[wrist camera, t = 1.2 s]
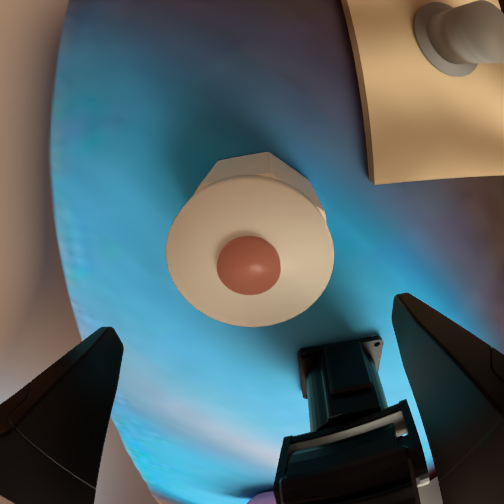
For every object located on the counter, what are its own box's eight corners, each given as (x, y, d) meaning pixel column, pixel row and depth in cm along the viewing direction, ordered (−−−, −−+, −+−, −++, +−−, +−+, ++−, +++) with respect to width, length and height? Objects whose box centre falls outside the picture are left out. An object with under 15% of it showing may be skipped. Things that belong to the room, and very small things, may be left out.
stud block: (507, 170, 14) (558, 198, 9) (368, 179, 15) (408, 215, 10) (471, -47, 6) (514, -65, 2) (314, -77, 8) (330, -125, 3)
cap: (319, 256, 17) (338, 322, 12) (210, 271, 18) (191, 338, 13) (306, 144, 14) (329, 169, 9) (181, 166, 15) (140, 203, 10)
